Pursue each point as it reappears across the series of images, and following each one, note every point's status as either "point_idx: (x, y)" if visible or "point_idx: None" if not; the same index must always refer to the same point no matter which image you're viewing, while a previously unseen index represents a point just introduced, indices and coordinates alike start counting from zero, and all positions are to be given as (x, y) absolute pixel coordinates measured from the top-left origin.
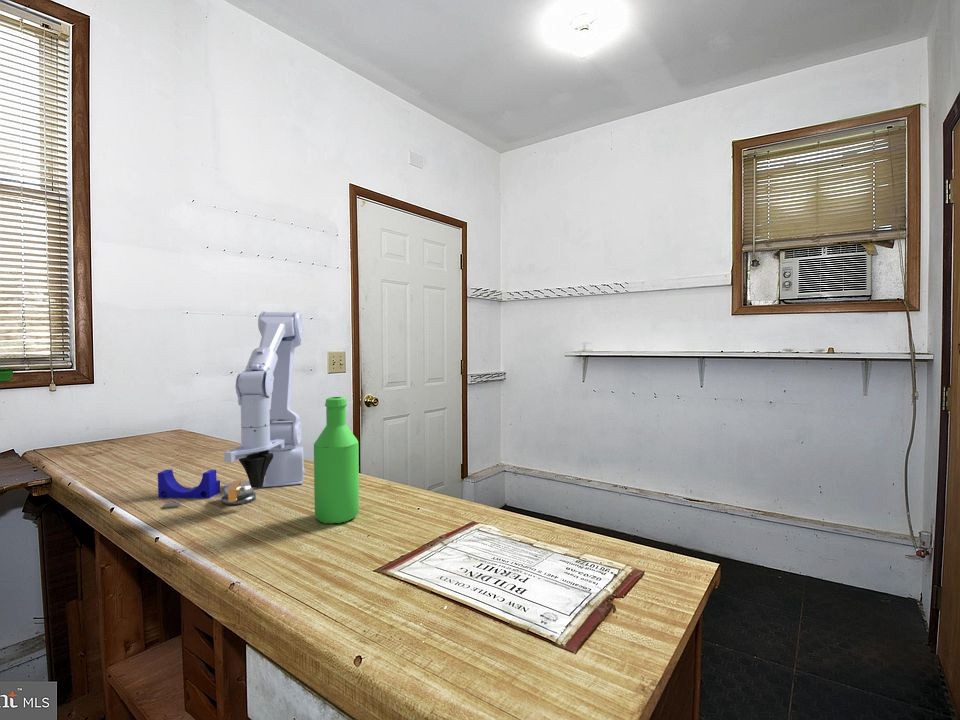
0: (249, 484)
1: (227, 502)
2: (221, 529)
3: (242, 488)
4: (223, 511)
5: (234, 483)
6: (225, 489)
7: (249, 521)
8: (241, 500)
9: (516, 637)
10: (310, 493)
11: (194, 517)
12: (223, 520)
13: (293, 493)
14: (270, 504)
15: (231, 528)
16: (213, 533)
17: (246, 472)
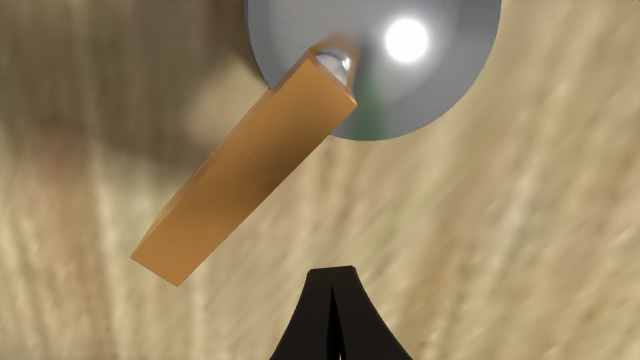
0: (429, 93)
1: (251, 45)
2: (72, 309)
3: (329, 134)
4: (183, 119)
5: (259, 144)
6: (248, 7)
7: (193, 327)
8: None
9: None
10: (609, 272)
11: (21, 61)
12: (122, 234)
13: (589, 200)
14: (390, 238)
15: (107, 330)
16: (32, 318)
17: (273, 357)
